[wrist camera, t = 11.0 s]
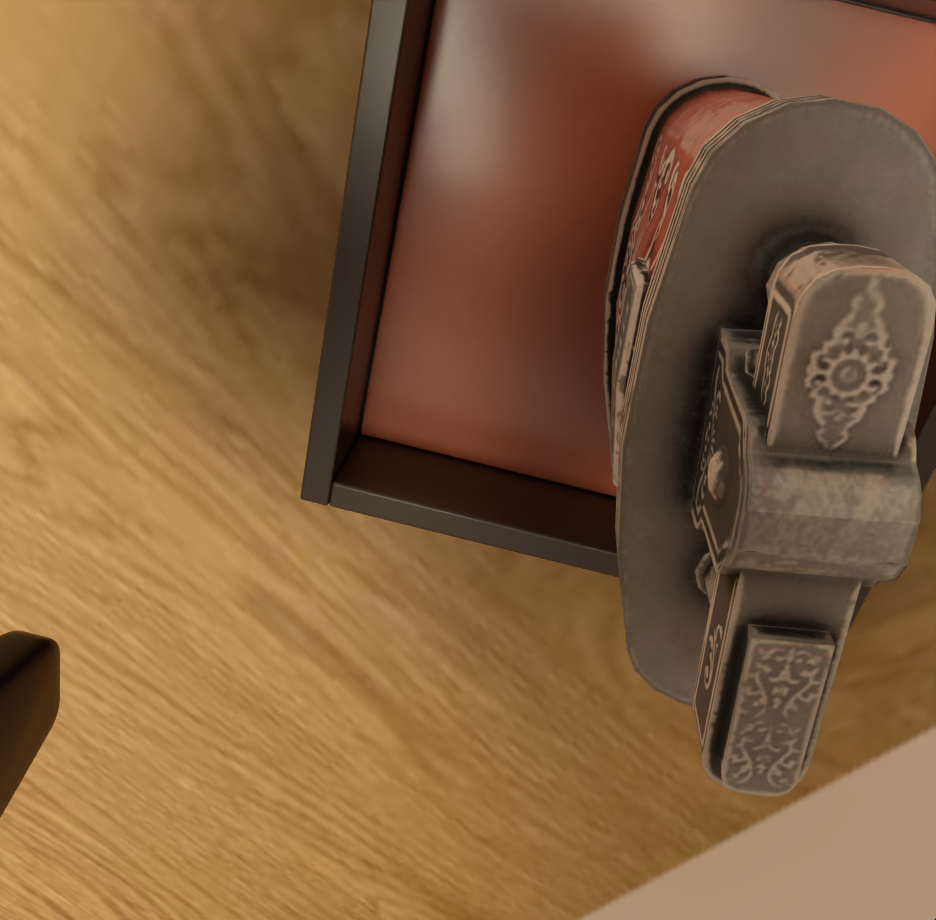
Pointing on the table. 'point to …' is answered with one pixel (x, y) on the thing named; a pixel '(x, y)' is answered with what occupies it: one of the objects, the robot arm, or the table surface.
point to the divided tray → (536, 241)
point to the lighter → (764, 402)
